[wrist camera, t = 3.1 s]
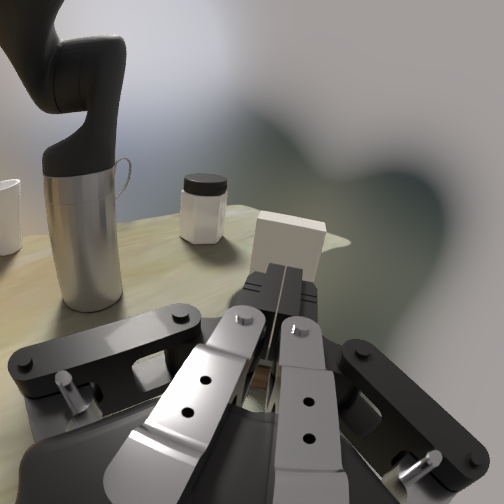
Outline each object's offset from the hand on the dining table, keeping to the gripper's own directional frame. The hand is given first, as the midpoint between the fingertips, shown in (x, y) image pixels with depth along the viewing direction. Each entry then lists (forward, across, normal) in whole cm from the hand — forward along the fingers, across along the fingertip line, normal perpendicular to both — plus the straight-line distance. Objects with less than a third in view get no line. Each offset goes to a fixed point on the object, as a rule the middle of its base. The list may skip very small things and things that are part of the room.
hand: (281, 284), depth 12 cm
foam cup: (+16, +52, +16) cm, 57 cm away
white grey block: (+9, 0, +14) cm, 17 cm away
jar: (+39, +18, +16) cm, 46 cm away
